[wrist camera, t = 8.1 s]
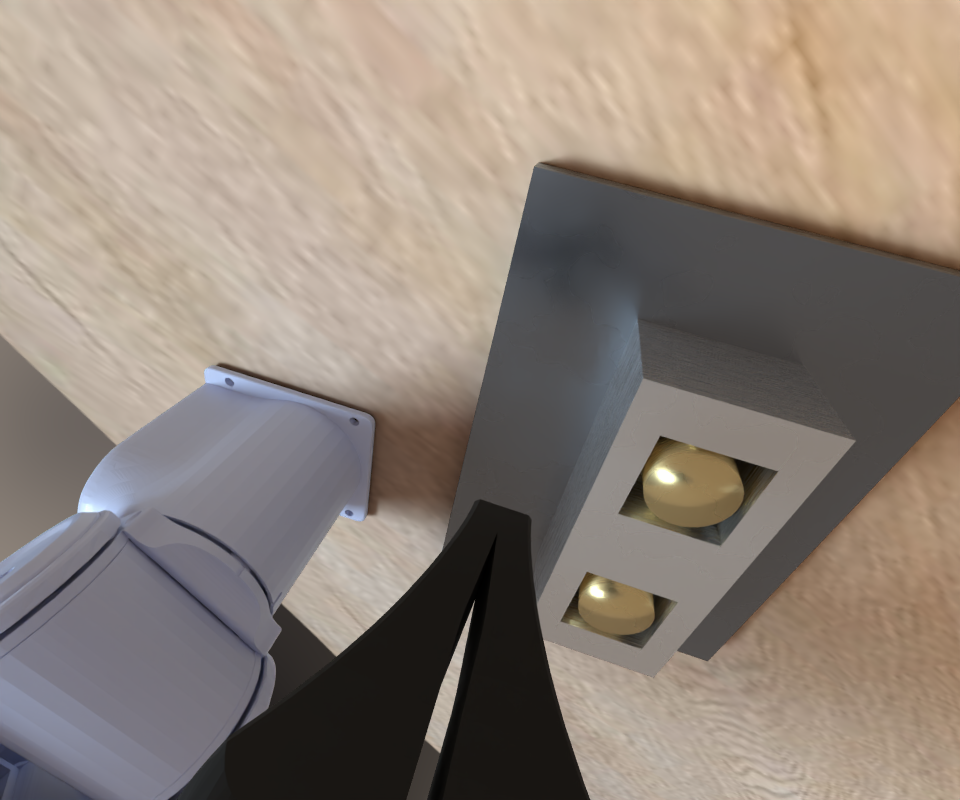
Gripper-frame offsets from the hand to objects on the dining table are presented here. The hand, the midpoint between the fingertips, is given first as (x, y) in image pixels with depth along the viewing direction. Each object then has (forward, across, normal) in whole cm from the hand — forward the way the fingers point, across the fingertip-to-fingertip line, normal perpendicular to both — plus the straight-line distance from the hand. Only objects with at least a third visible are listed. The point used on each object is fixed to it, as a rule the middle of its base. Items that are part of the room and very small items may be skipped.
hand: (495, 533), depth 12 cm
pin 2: (+9, -6, +1) cm, 11 cm away
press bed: (+10, -6, +4) cm, 13 cm away
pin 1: (+9, -6, +8) cm, 13 cm away
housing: (+9, -6, +4) cm, 12 cm away
